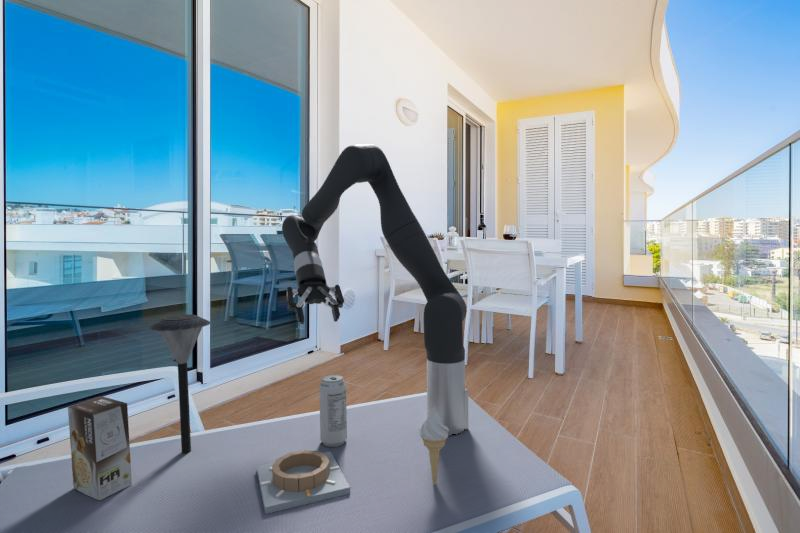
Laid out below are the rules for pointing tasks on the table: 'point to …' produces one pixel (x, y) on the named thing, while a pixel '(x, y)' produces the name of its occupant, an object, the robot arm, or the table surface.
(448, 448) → the table surface
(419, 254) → the robot arm
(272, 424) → the table surface
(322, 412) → the energy drink can
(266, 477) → the dial plate
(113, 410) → the coffee box
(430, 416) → the ice cream cone
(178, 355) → the solar garden light
